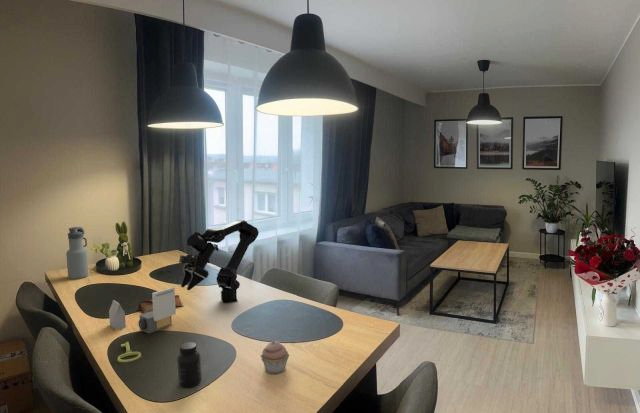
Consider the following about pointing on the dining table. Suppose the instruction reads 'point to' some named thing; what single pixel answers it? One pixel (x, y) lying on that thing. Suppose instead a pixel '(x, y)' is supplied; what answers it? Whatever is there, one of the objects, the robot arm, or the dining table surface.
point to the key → (128, 353)
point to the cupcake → (274, 357)
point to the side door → (163, 303)
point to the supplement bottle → (189, 366)
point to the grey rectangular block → (152, 322)
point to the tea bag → (117, 316)
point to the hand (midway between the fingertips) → (184, 288)
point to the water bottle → (77, 254)
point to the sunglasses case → (148, 305)
